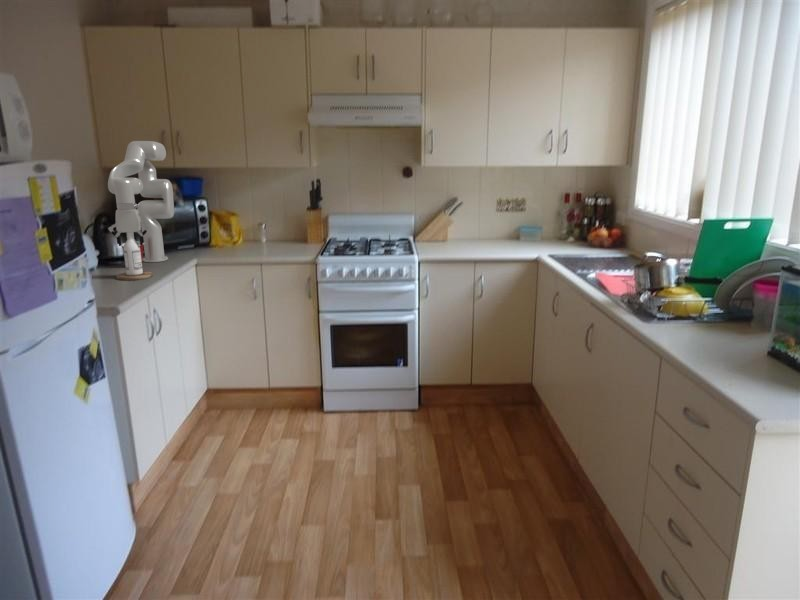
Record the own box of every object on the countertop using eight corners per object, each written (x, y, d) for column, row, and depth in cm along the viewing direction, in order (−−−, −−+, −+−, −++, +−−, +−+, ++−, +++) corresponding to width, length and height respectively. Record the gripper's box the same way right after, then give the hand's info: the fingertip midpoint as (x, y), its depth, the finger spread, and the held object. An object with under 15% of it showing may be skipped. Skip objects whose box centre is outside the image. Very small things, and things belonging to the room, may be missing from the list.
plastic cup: (118, 267, 275) (115, 243, 272) (136, 263, 285) (133, 240, 282) (134, 269, 271) (131, 245, 268) (151, 265, 281) (149, 242, 277)
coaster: (119, 274, 261) (119, 271, 260) (154, 272, 265) (153, 269, 265) (114, 281, 247) (114, 278, 247) (150, 279, 251) (150, 276, 251)
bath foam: (145, 272, 260) (140, 230, 254) (139, 275, 253) (134, 232, 248) (129, 272, 259) (124, 230, 254) (124, 275, 252) (118, 232, 247)
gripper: (148, 205, 253) (152, 243, 258) (106, 206, 248) (111, 244, 253) (146, 207, 246) (150, 245, 251) (103, 208, 241) (108, 247, 246)
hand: (131, 245), depth 252 cm, fingers open, 8 cm apart
